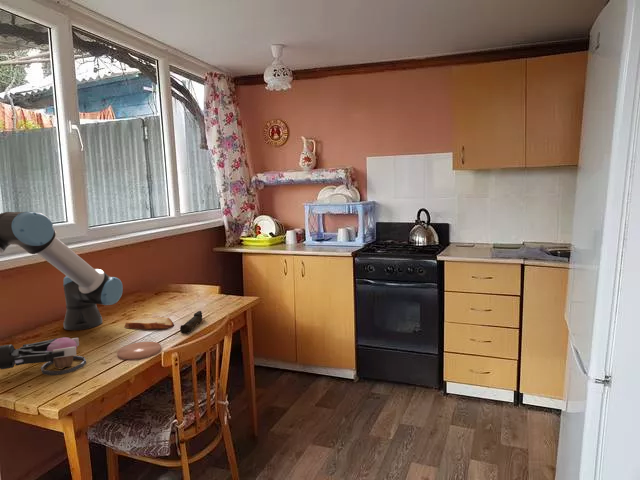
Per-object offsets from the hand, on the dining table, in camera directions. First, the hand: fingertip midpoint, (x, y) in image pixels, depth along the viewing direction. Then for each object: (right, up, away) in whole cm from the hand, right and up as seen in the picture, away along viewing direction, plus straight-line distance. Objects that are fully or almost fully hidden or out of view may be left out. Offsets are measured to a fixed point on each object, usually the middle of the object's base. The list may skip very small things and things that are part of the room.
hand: (77, 346), depth 158 cm
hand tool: (+29, -1, +38) cm, 48 cm away
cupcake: (-4, -7, -1) cm, 8 cm away
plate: (+17, -4, +11) cm, 21 cm away
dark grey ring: (-4, -7, -1) cm, 8 cm away
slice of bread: (+10, -1, +40) cm, 41 cm away
